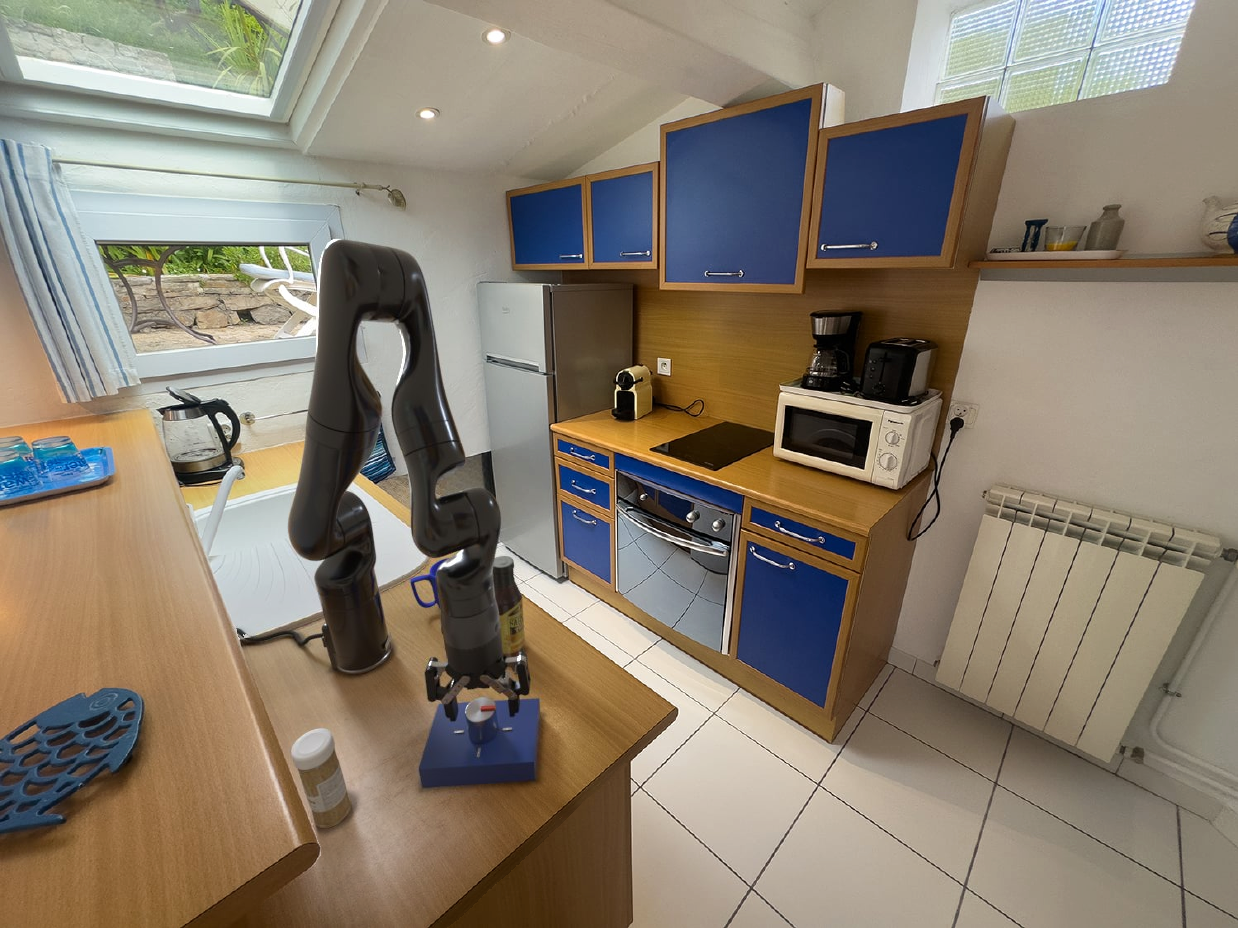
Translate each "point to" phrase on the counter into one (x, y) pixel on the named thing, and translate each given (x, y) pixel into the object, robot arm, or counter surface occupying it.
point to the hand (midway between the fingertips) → (483, 714)
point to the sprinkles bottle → (321, 777)
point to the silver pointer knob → (481, 720)
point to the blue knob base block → (482, 748)
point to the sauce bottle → (509, 606)
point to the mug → (432, 580)
